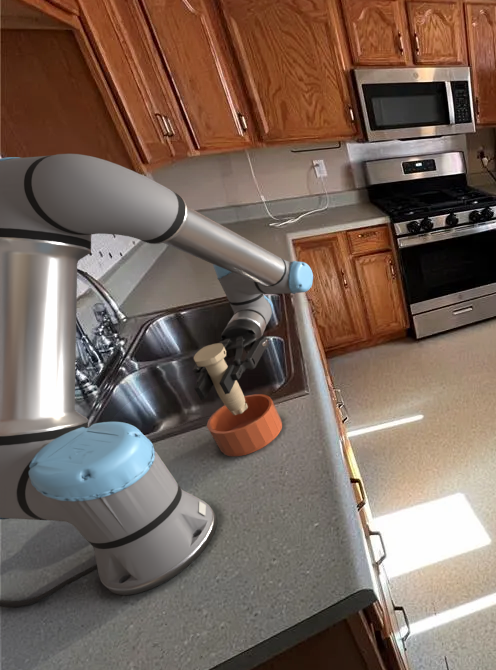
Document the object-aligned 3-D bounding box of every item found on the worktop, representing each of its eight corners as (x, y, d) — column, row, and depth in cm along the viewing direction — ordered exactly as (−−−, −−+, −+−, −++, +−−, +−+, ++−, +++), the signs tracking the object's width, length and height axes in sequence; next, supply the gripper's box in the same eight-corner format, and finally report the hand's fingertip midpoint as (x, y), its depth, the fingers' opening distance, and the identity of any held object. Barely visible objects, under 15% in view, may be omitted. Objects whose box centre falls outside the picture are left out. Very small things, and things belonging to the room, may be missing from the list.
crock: (230, 466, 83) (216, 442, 80) (213, 438, 91) (200, 416, 88) (290, 431, 91) (280, 409, 88) (270, 408, 99) (260, 387, 95)
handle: (255, 398, 91) (226, 341, 84) (249, 417, 86) (218, 357, 78) (230, 404, 90) (199, 347, 83) (223, 423, 84) (189, 363, 77)
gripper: (286, 338, 102) (266, 395, 82) (212, 353, 98) (172, 417, 79) (275, 311, 98) (252, 364, 78) (198, 326, 95) (152, 386, 75)
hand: (212, 390), depth 79 cm, fingers closed on handle, 3 cm apart
